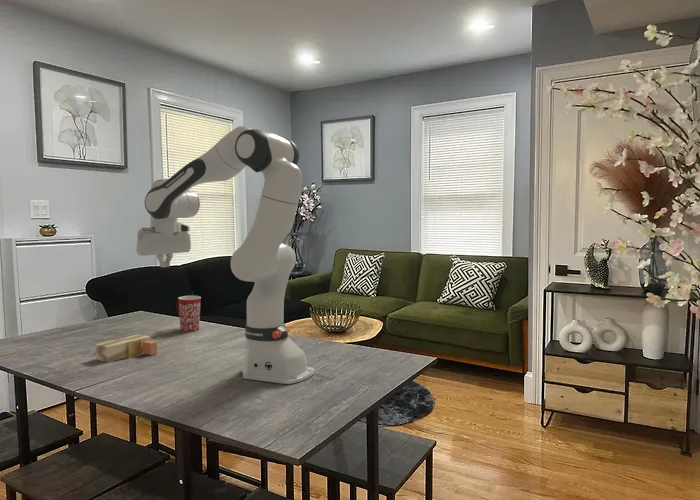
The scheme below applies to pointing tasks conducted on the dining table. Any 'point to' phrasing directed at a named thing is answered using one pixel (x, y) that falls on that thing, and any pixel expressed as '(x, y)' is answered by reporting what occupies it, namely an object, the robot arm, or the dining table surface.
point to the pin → (132, 348)
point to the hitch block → (117, 348)
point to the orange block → (149, 347)
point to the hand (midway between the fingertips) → (165, 267)
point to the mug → (189, 313)
